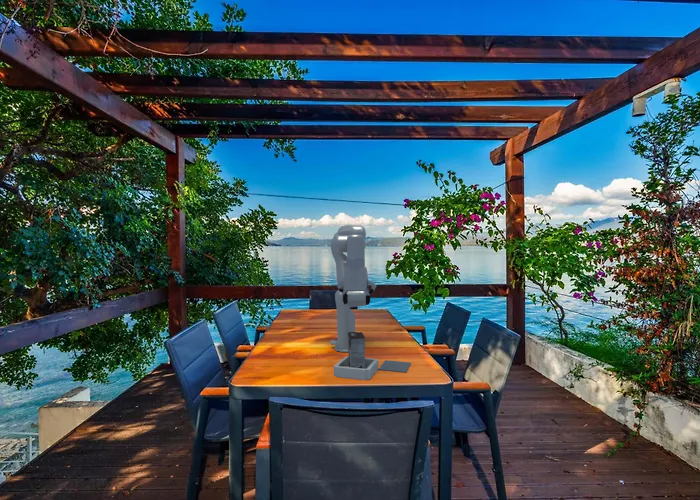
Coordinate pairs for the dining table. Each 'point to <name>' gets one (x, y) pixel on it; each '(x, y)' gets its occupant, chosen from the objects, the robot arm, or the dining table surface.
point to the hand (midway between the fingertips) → (356, 304)
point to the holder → (356, 369)
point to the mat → (395, 366)
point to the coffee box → (356, 349)
